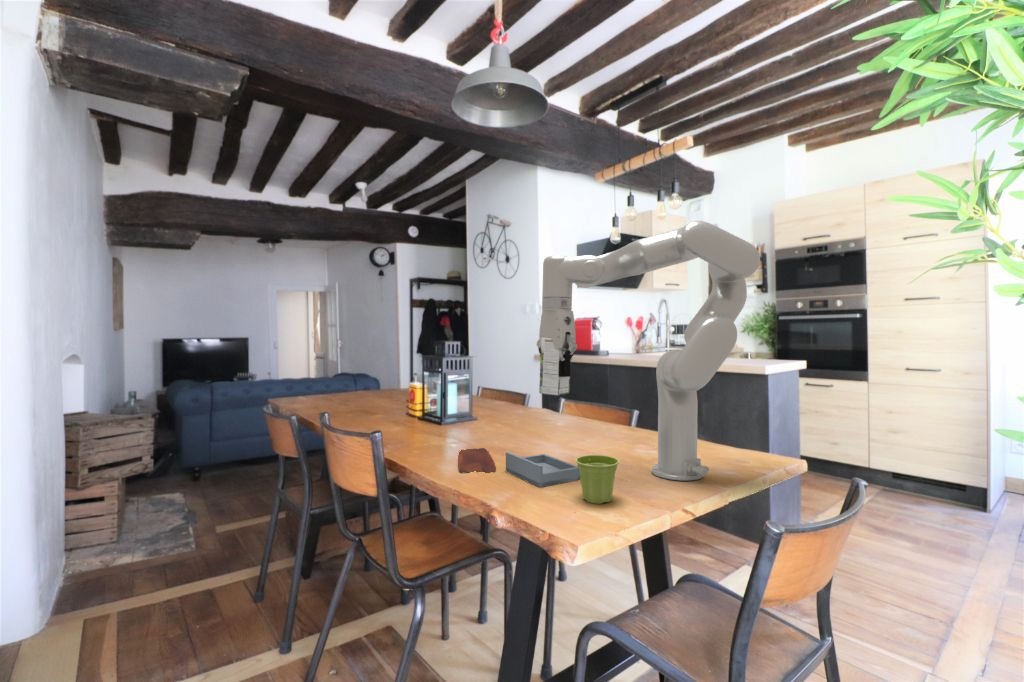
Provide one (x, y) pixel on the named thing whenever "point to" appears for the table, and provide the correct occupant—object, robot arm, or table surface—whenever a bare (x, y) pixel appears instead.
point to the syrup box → (551, 370)
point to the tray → (541, 469)
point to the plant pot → (597, 477)
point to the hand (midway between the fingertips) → (555, 374)
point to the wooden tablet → (475, 461)
